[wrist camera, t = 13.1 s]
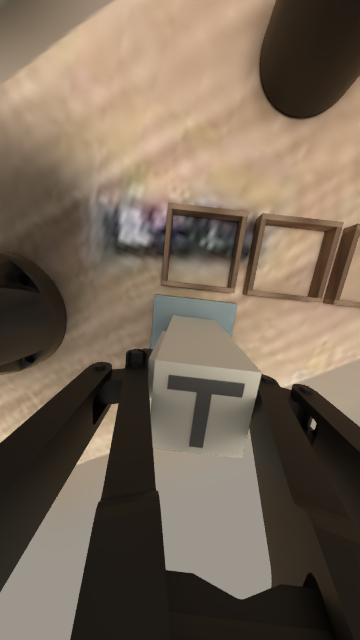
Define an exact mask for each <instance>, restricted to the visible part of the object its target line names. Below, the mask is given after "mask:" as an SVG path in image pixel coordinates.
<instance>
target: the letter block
mask: <svg viewBox="0 0 360 640" xmlns="http://www.w3.org/2000/svg"><path fill="white" fill-rule="evenodd" d="M261 374H262V372H261V371H260V370H259V369H258V368H257V367H256V365H255V364H254V363H253V362H252V361H251V360H250V359H249V358H248V356H247V355H246V354H245V353H244V352H243V351H242V350H241V348H240V347H239V346H238V345H237V344H236V343H235V342H234V341H233V339H232V338H231V337H230V336H229V335H228V334H227V333H226V331H225V330H224V329H223V328H222V327H221V326H220V325H219V324H218V322H217V321H216V320H211V319H202V318H193V317H184V316H176V315H173V316H172V319H171V321H170V324H169V326H168V329H167V331H166V334H165V337H164V339H163V342H162V344H161V347H160V349H159V352H158V354H157V357H156V359H155V367H154V379H153V391H152V402H151V414H150V415H151V429H152V443H153V448H155V449H163V450H171V451H180V452H188V453H197V454H206V455H214V456H223V457H231V458H240V459H242V456H243V452H244V447H245V443H246V439H247V434H248V430H249V426H250V422H251V417H252V413H253V409H254V404H255V400H256V396H257V391H258V387H259V383H260V378H261Z"/></svg>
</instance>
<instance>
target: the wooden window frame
mask: <svg viewBox="0 0 360 640" xmlns="http://www.w3.org/2000/svg"><path fill="white" fill-rule="evenodd" d="M343 223H344V222H337V221H328V220H319V219H310V218H301V217H292V216H283V215H274V214H265V213H263V214H261V215H260V216H259V217H258V218H257V220H256V226H255V231H254V236H253V242H252V247H251V252H250V258H249V263H248V268H247V274H246V279H245V285H244V290H243V294H247V295H256V296H265V297H274V298H282V299H291V300H300V301H309V302H318V303H321V300H322V296H323V293H324V289H325V286H326V282H327V279H328V275H329V272H330V268H331V265H332V261H333V258H334V254H335V251H336V247H337V244H338V240H339V237H340V233H341V230H342V226H343ZM265 225H273V226H282V227H291V228H300V229H309V230H318V231H326V232H325V236H324V239H323V243H322V247H321V250H320V254H319V258H318V262H317V265H316V269H315V273H314V277H313V280H312V284H311V288H310V292H309V295H308V297H304V296H295V295H287V294H278V293H269V292H260V291H252V290H253V285H254V280H255V275H256V270H257V265H258V260H259V254H260V249H261V244H262V239H263V234H264V229H265Z"/></svg>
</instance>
